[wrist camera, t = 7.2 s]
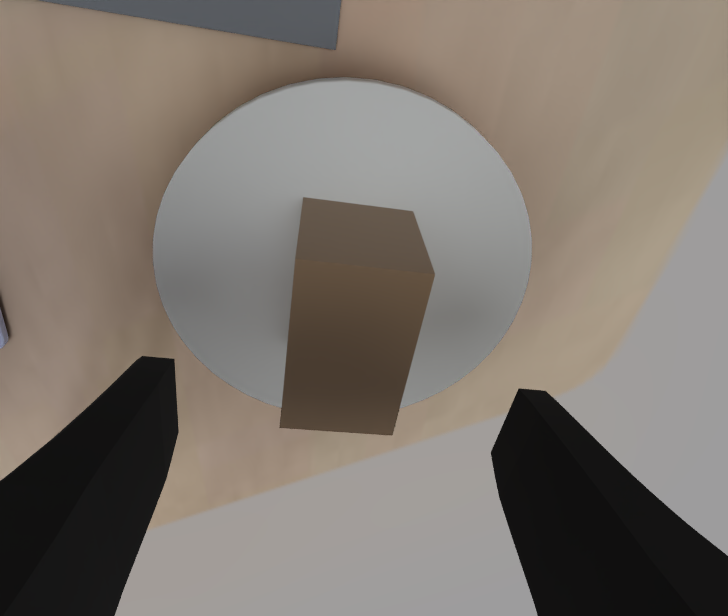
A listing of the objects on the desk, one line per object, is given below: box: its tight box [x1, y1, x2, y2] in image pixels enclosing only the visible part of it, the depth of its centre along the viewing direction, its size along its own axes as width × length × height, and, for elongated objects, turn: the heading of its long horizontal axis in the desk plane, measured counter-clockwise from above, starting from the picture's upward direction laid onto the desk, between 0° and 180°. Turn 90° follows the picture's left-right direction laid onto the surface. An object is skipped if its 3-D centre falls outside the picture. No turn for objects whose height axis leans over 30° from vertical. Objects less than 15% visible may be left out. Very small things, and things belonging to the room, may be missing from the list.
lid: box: [153, 77, 532, 435], centre depth 14 cm, size 11×11×4 cm
